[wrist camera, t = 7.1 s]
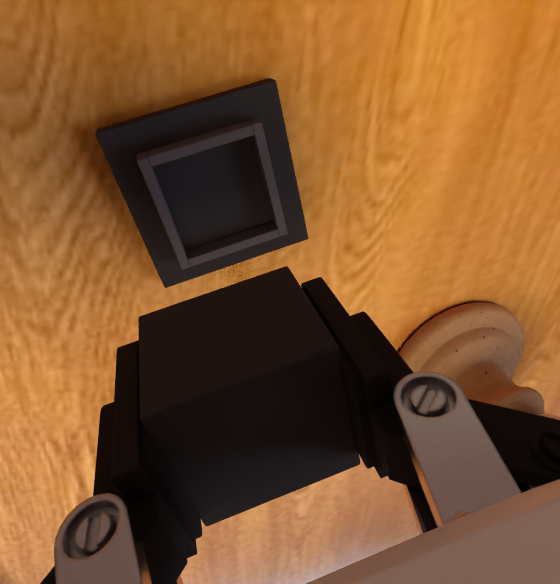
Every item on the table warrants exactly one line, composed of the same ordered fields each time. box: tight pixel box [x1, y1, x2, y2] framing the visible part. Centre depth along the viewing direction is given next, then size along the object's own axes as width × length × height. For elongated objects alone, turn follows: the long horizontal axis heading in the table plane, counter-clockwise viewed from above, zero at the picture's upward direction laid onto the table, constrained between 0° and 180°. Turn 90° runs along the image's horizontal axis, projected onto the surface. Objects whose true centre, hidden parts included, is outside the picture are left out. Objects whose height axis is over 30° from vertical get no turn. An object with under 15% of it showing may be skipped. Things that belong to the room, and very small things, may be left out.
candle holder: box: [399, 302, 560, 420], centre depth 30 cm, size 12×12×20 cm
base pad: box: [96, 78, 308, 288], centre depth 23 cm, size 9×9×2 cm
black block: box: [139, 266, 360, 526], centre depth 11 cm, size 4×4×4 cm
